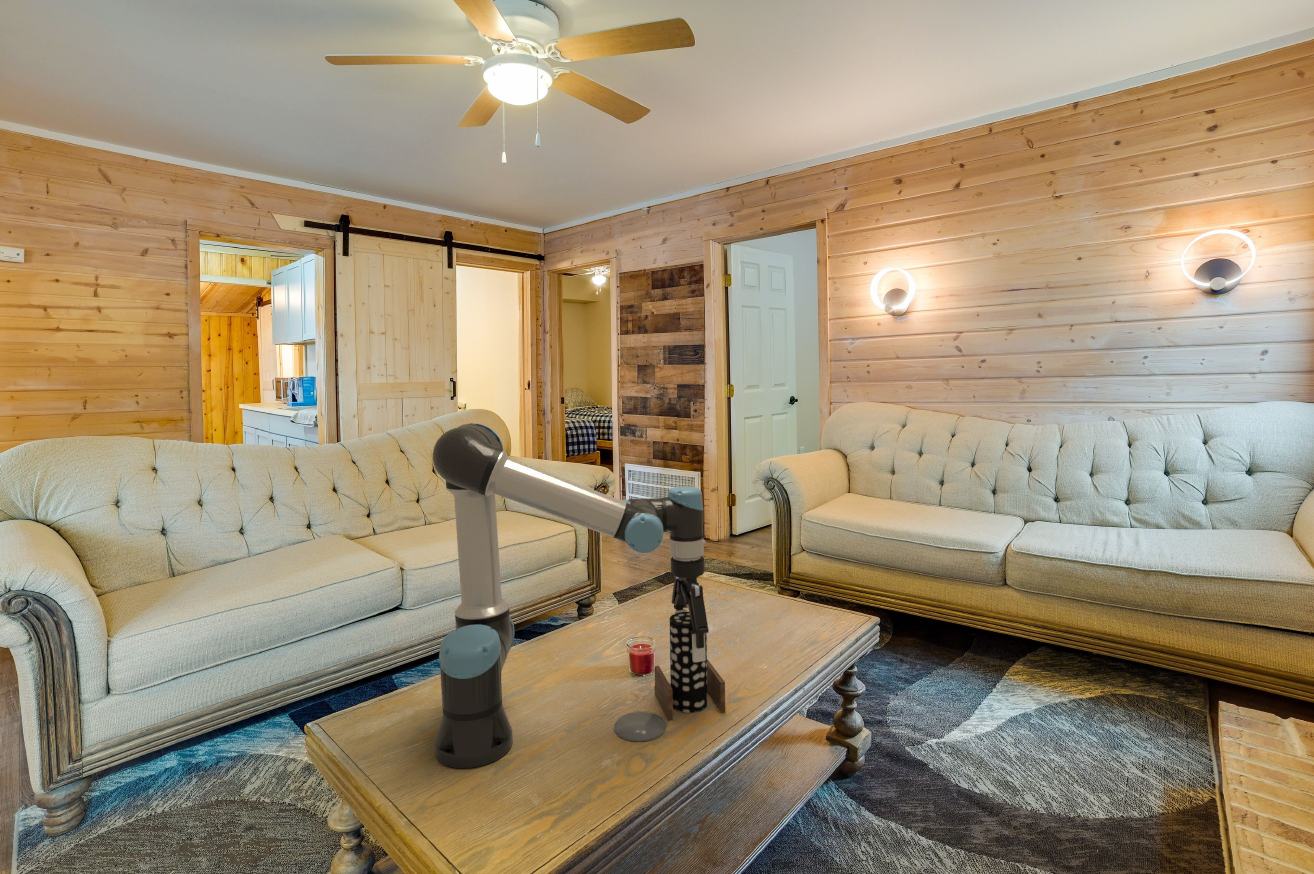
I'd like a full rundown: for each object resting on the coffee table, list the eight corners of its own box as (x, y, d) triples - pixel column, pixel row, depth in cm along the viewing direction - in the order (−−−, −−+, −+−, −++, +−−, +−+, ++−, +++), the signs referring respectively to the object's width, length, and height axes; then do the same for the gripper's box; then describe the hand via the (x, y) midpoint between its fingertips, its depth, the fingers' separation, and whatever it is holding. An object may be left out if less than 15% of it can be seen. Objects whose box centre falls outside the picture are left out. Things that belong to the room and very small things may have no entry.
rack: (668, 720, 142) (667, 689, 142) (654, 693, 154) (654, 665, 154) (725, 712, 145) (724, 681, 145) (707, 686, 158) (706, 658, 157)
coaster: (619, 745, 133) (619, 742, 133) (610, 718, 144) (610, 715, 144) (672, 737, 136) (671, 734, 136) (658, 711, 146) (658, 708, 146)
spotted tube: (704, 714, 145) (704, 626, 143) (667, 710, 146) (666, 624, 145) (709, 695, 153) (708, 612, 151) (674, 693, 155) (673, 610, 153)
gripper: (722, 570, 135) (724, 669, 137) (687, 541, 159) (689, 626, 161) (687, 574, 133) (690, 674, 136) (657, 544, 158) (660, 629, 160)
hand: (689, 648), depth 148 cm, fingers open, 13 cm apart
